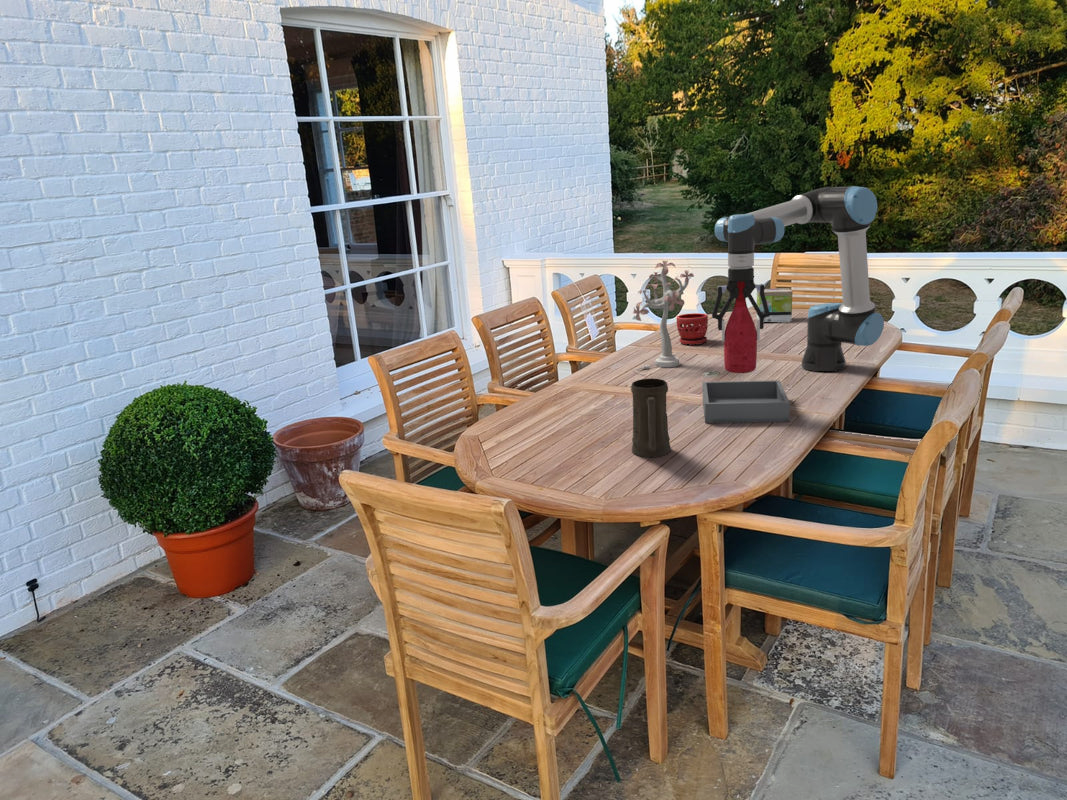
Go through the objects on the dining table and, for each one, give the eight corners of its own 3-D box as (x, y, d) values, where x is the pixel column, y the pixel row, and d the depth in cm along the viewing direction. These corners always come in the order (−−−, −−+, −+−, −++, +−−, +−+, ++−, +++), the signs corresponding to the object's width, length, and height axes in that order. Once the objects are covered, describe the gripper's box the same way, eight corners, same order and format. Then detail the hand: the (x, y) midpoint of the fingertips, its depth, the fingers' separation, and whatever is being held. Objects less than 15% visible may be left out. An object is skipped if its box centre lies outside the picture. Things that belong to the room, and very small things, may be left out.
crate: (779, 398, 260) (779, 380, 258) (789, 421, 237) (789, 402, 235) (702, 399, 264) (702, 381, 263) (705, 422, 242) (704, 403, 240)
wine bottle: (757, 366, 252) (759, 271, 244) (755, 374, 243) (756, 276, 235) (726, 366, 256) (726, 271, 247) (722, 373, 247) (722, 276, 238)
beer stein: (627, 445, 228) (625, 378, 221) (664, 441, 228) (664, 375, 221) (639, 467, 213) (637, 397, 206) (678, 463, 214) (678, 393, 207)
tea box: (758, 323, 371) (758, 292, 367) (756, 319, 381) (756, 288, 376) (792, 322, 368) (792, 290, 364) (789, 318, 378) (789, 287, 374)
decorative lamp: (648, 377, 295) (644, 268, 283) (616, 365, 315) (612, 263, 304) (710, 365, 305) (709, 260, 294) (675, 354, 326) (673, 255, 314)
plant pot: (712, 340, 345) (712, 312, 342) (701, 347, 335) (701, 318, 332) (684, 338, 352) (683, 311, 349) (672, 345, 342) (671, 317, 339)
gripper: (703, 270, 239) (703, 343, 245) (781, 267, 235) (779, 341, 241) (702, 267, 246) (703, 338, 253) (778, 263, 242) (776, 336, 248)
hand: (740, 339), depth 247 cm, fingers closed on wine bottle, 10 cm apart
